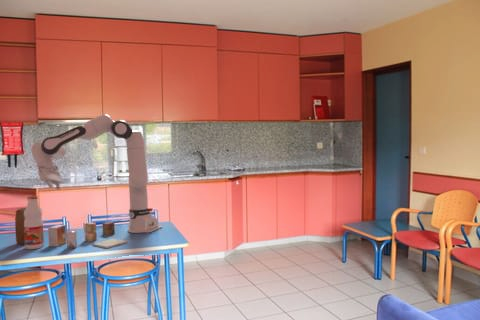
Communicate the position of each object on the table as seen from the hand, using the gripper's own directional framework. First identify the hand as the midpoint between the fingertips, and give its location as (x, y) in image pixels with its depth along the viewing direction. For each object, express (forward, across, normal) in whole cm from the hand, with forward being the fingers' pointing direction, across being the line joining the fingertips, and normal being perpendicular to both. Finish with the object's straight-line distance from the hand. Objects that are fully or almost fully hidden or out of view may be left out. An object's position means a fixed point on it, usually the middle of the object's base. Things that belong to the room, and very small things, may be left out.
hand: (55, 188), depth 244 cm
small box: (+32, -5, +9) cm, 33 cm away
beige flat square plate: (+44, -5, -18) cm, 48 cm away
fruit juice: (+28, -10, +18) cm, 35 cm away
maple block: (+36, +4, -6) cm, 37 cm away
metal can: (+37, -12, -1) cm, 39 cm away
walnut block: (+35, +19, -12) cm, 42 cm away
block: (+22, -1, +27) cm, 34 cm away
